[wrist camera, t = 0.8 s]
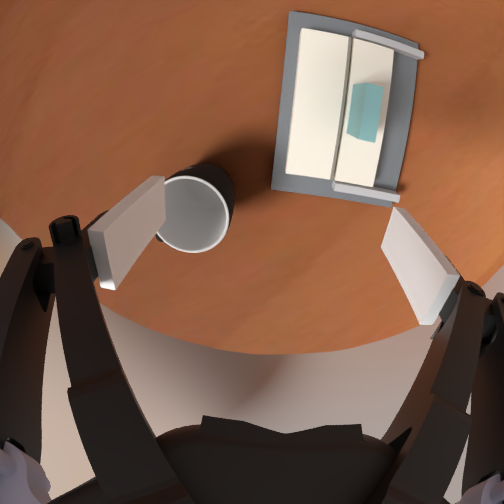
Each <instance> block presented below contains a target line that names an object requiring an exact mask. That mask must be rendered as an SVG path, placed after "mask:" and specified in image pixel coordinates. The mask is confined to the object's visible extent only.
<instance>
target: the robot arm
mask: <svg viewBox="0 0 504 504" xmlns="http://www.w3.org/2000/svg"><path fill="white" fill-rule="evenodd" d="M165 221H166V212H165V181H164V176H151V177H150V178H148V179H147V180H146V181H144V182H143V183H142V184H141V185H139V186H138V187H137V188H136V189H134V190H133V191H132V192H131V193H129V194H128V195H127V196H126V197H125V198H123V199H122V200H121V201H120V202H119V203H117V204H116V205H115V206H114V207H113V208H111V209H110V210H107V211H105V212H103V213H101V214H100V215H98V216H97V217H96V218H95V219H94V220H93V221H92V222H90V224H88V225H87V226H86V227H85V228H84V229H83V230H82V231H81V229H80V224H79V219H78V217H77V216H74V215H67V216H63V217H60V218H57V219H55V220H54V221H52V222H51V223H50V225H49V230H50V234H51V238H52V242H53V247H43V248H42V245H41V241H40V239H39V238H36V237H33V238H26V239H25V240H22V242H20V243H19V244H18V245H17V246H16V248H15V250H14V251H13V253H12V255H11V257H10V259H9V261H8V263H7V265H6V267H5V269H4V271H3V273H2V275H1V277H0V504H450V503H449V502H448V501H447V500H446V499H445V498H444V497H443V496H444V494H445V492H446V490H447V488H448V486H449V484H450V481H451V479H452V477H453V475H454V472H455V470H456V468H457V465H458V463H459V460H460V457H461V454H462V452H463V449H464V446H465V443H466V441H467V437H468V435H469V438H468V447H467V454H466V461H465V467H464V473H463V482H462V498H461V500H460V501H459V502H457V503H455V504H504V294H503V293H497V294H496V296H495V297H494V299H493V300H490V299H487V298H486V295H485V292H484V291H483V290H482V289H481V287H480V286H479V285H477V284H476V283H474V282H471V281H465V280H464V279H463V277H462V276H461V275H460V273H459V272H458V271H457V269H455V267H454V265H453V264H451V262H450V260H449V259H448V258H447V256H445V255H444V254H443V252H442V251H441V250H440V249H439V247H438V246H437V245H436V244H435V243H434V241H433V240H432V239H431V238H430V237H429V235H428V234H427V233H426V232H425V231H424V230H423V228H422V227H421V226H420V225H419V224H418V223H417V222H416V220H415V219H414V218H413V217H412V216H411V215H410V214H409V213H408V212H407V211H406V209H404V208H400V207H395V206H394V208H393V211H392V214H391V217H390V221H389V224H388V227H387V230H386V233H385V236H384V239H383V242H382V245H381V248H382V250H383V252H384V254H385V256H386V257H387V259H388V261H389V263H390V265H391V267H392V268H393V270H394V272H395V274H396V276H397V278H398V280H399V282H400V284H401V286H402V288H403V290H404V292H405V294H406V296H407V298H408V300H409V302H410V304H411V306H412V308H413V310H414V313H415V315H416V317H417V319H418V321H419V324H420V325H433V323H434V322H435V320H436V318H437V317H438V315H440V317H441V319H442V321H441V323H440V324H439V326H438V327H437V329H436V331H435V332H434V334H433V335H432V337H431V339H433V341H432V343H431V346H430V348H429V351H428V353H427V355H426V358H425V360H424V363H423V364H422V367H421V369H420V371H419V373H418V375H417V377H416V380H415V381H414V383H413V385H412V388H411V390H410V392H409V393H408V395H407V397H406V399H405V401H404V403H403V405H402V406H401V408H400V410H399V412H398V414H397V415H396V417H395V419H394V421H393V422H392V424H391V425H390V427H389V429H388V430H387V432H386V433H385V435H384V436H383V437H382V439H381V440H379V439H377V438H374V437H372V436H368V435H365V434H362V427H361V424H353V425H326V426H321V427H317V428H313V429H308V430H304V431H299V432H294V433H288V434H284V433H280V432H276V431H272V430H269V429H266V428H263V427H260V426H257V425H254V424H251V423H248V422H244V421H239V420H231V419H223V418H217V417H210V416H204V415H203V418H202V423H201V425H190V426H184V427H180V428H176V429H173V430H170V431H168V432H166V433H164V434H162V435H160V436H158V437H156V436H155V434H154V433H153V431H152V429H151V427H150V425H149V423H148V421H147V420H146V418H145V416H144V414H143V412H142V410H141V408H140V406H139V404H138V402H137V400H136V398H135V395H134V393H133V391H132V389H131V386H130V384H129V382H128V380H127V377H126V375H125V373H124V370H123V368H122V365H121V363H120V360H119V358H118V355H117V353H116V350H115V347H114V345H113V342H112V339H111V337H110V334H109V331H108V328H107V325H106V322H105V319H104V316H103V313H102V310H101V306H100V303H99V300H98V296H97V293H96V289H95V286H94V283H93V282H94V281H95V279H96V278H97V277H98V278H99V282H100V286H101V287H102V288H107V289H112V290H116V289H117V288H118V286H119V285H120V283H121V282H122V280H123V279H124V277H125V276H126V274H127V273H128V271H129V270H130V269H131V267H132V266H133V264H134V263H135V261H136V260H137V259H138V257H139V256H140V254H141V253H142V252H143V250H144V249H145V247H146V246H147V245H148V243H149V242H150V241H151V239H152V238H153V237H154V235H155V234H156V233H157V231H158V230H159V229H160V227H161V226H162V225H163V223H164V222H165ZM55 296H56V302H57V310H58V318H59V326H60V332H61V338H62V344H63V350H64V354H65V360H66V364H67V369H68V373H69V377H70V382H71V387H70V388H68V391H67V393H68V398H69V402H70V406H71V409H72V413H73V416H74V420H75V423H76V426H77V429H78V432H79V435H80V438H81V440H82V443H83V446H84V449H85V451H86V454H87V456H88V459H89V462H90V464H91V466H92V469H93V471H94V473H95V476H96V477H94V478H92V479H90V480H89V481H87V482H85V483H83V484H82V485H80V486H78V487H76V488H74V489H72V490H71V491H69V492H67V493H65V494H63V495H61V496H59V497H57V498H55V499H53V500H51V498H50V497H49V494H48V492H49V490H50V487H51V486H50V482H49V480H48V479H47V477H46V475H45V472H44V470H43V468H42V466H41V465H40V460H41V448H42V442H41V439H42V430H41V410H42V385H43V373H44V363H45V362H44V361H45V354H46V346H47V339H48V333H49V326H50V321H51V315H52V310H53V306H54V301H55ZM470 394H472V395H471V415H469V414H467V413H466V408H467V405H468V401H469V398H470Z"/></svg>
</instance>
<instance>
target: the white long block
mask: <svg viewBox="0 0 504 504" xmlns="http://www.w3.org/2000/svg"><path fill="white" fill-rule="evenodd" d="M393 55H394V50H393V49H390V48H387V47H384V46H380V45H377V44H374V43H370V42H367V41H363V40H359V39H355V38H354V39H352V40H351V51H350V62H349V72H348V81H347V89H346V97H345V105H344V113H343V120H342V127H341V133H340V140H339V146H338V152H337V158H336V164H335V170H334V175H333V178H334V180H335V181H341V182H347V183H352V184H358V185H363V186H369V187H373V184H374V179H375V175H376V170H377V165H378V160H379V155H380V150H381V145H382V139H383V134H384V128H385V121H386V115H387V108H388V101H389V94H390V85H391V76H392V66H393Z"/></svg>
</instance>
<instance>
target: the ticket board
mask: <svg viewBox="0 0 504 504" xmlns="http://www.w3.org/2000/svg"><path fill="white" fill-rule="evenodd" d="M354 38H355V39H359V40H363V41H367V42H370V43H374V44H377V45H380V46H384V47H387V48H390V49H393V50H394V55H393V66H392V76H391V85H390V94H389V101H388V108H387V115H386V121H385V128H384V134H383V139H382V145H381V150H380V155H379V160H378V165H377V170H376V175H375V179H374V184H373V187H369V186H363V185H358V184H352V183H347V182H341V181H335V180H334V178H333V175H334V170H335V164H336V158H337V152H338V146H339V140H340V133H341V127H342V120H343V113H344V105H345V97H346V89H347V81H348V72H349V62H350V51H351V40H352V39H354ZM419 59H424V52H423V51H420V50H418V44H417V43H415V42H412V41H410V40H407V39H405V38H402V37H399V36H396V35H393V34H390V33H387V32H384V31H381V30H378V29H375V28H371V27H368V26H364V25H361V24H357V23H353V22H349V21H344V20H340V19H335V18H331V17H326V16H320V15H314V14H308V13H302V12H294V11H289V19H288V29H287V40H286V50H285V60H284V70H283V80H282V90H281V100H280V109H279V118H278V128H277V137H276V146H275V155H274V164H273V173H272V182H271V190H279V191H287V192H295V193H303V194H310V195H317V196H324V197H331V198H337V199H344V200H350V201H356V202H362V203H368V204H373V205H379V206H384V207H390V208H391V207H392V203H393V202H398V203H399V199H400V195H399V194H398V193H397V192H396V187H397V183H398V179H399V175H400V171H401V166H402V161H403V157H404V152H405V147H406V142H407V136H408V131H409V125H410V119H411V112H412V106H413V98H414V90H415V81H416V71H417V60H419Z"/></svg>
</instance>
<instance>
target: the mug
mask: <svg viewBox="0 0 504 504" xmlns="http://www.w3.org/2000/svg"><path fill="white" fill-rule="evenodd" d="M233 208H234V187H233V184H232V181H231V179H230V177H229V176H228V174H227V173H226V172H225V171H224V170H223V169H221V168H220V167H218V166H216V165H213V164H196V165H193V166H190V167H187V168H185V169H183V170H181V171H179V172H177V173H175V174H173V175H172V176H170V177H169V178H168V179H166V180H165V212H166V221H165V222H164V223H163V225H162V226H161V227H160V229H159V230H158V231H157V234H156V238H157V240H158V241H160V242H163V241H164V242H165V243H167V244H168V245H170V246H171V247H173V248H175V249H177V250H180V251H184V252H190V253H197V252H203V251H207V250H209V249H211V248H213V247H214V246H216V245H217V244H218V243H219V242H220V241H221V240H222V239H223V238H224V236H225V235H226V233H227V230H228V228H229V225H230V222H231V218H232V214H233Z"/></svg>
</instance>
